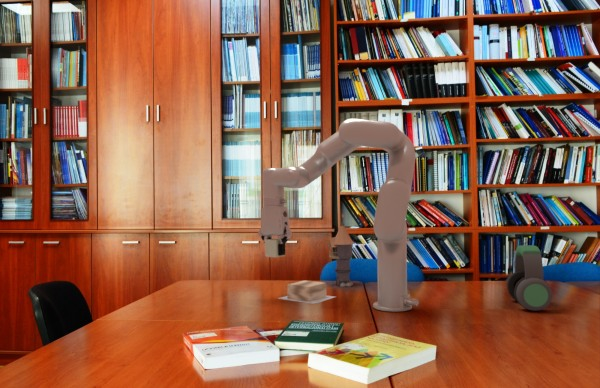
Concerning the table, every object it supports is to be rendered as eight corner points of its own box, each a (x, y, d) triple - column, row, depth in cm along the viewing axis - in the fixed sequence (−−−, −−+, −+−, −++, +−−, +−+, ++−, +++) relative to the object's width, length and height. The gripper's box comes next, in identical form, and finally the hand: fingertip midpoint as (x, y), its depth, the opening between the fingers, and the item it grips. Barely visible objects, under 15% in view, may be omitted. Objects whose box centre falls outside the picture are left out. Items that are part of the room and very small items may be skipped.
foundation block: (326, 296, 180) (326, 282, 180) (310, 301, 172) (310, 287, 172) (304, 293, 186) (303, 280, 186) (287, 298, 178) (287, 284, 178)
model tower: (325, 284, 211) (324, 212, 211) (349, 282, 214) (349, 212, 214) (334, 287, 202) (333, 213, 202) (359, 286, 205) (358, 212, 205)
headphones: (555, 313, 155) (554, 248, 155) (517, 312, 157) (516, 248, 157) (538, 300, 174) (538, 243, 174) (505, 299, 176) (504, 242, 176)
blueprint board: (336, 298, 180) (336, 296, 180) (314, 306, 169) (314, 303, 169) (300, 294, 190) (300, 292, 190) (277, 300, 179) (277, 298, 179)
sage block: (285, 255, 177) (284, 238, 177) (276, 257, 173) (276, 240, 173) (274, 255, 180) (273, 238, 180) (265, 256, 176) (264, 239, 176)
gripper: (299, 202, 175) (301, 254, 174) (262, 203, 184) (263, 252, 184) (286, 203, 168) (288, 257, 168) (248, 203, 178) (250, 254, 178)
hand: (275, 254), depth 176 cm, fingers closed on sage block, 5 cm apart
